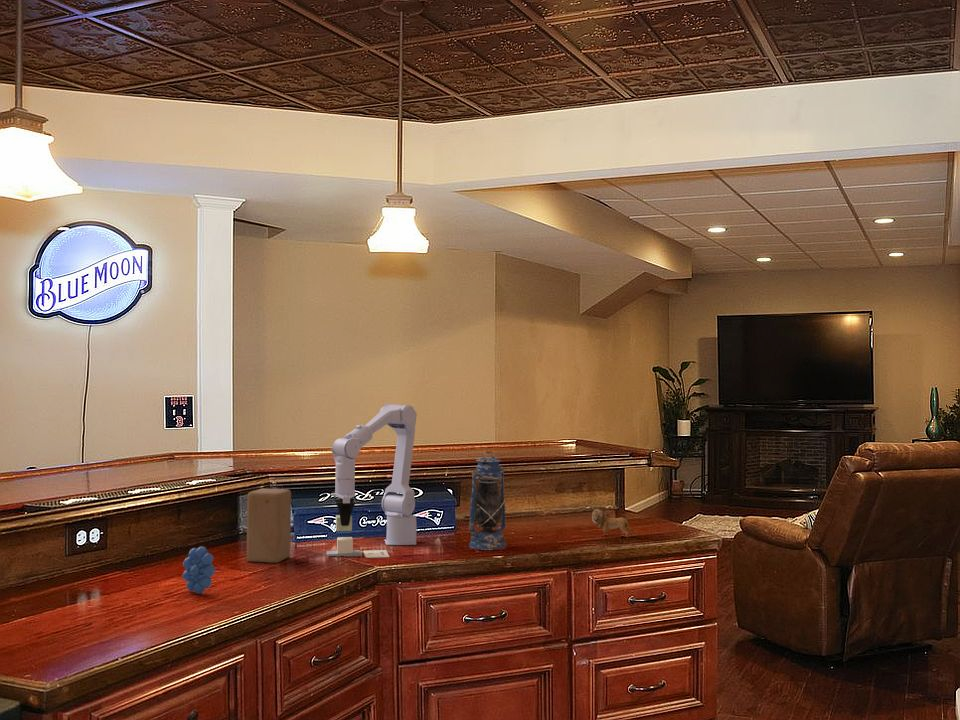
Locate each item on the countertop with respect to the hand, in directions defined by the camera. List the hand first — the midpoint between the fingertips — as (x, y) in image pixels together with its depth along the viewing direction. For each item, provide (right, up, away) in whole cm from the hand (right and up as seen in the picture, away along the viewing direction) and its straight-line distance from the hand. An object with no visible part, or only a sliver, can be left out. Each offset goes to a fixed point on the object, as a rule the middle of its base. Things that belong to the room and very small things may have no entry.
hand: (344, 524), depth 297 cm
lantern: (+43, -10, +15) cm, 46 cm away
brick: (0, -8, 0) cm, 8 cm away
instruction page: (+9, -9, +1) cm, 13 cm away
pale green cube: (0, -2, 0) cm, 2 cm away
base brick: (0, -10, 0) cm, 10 cm away
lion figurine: (+84, -11, +36) cm, 92 cm away
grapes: (-29, -9, -50) cm, 58 cm away
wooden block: (-21, -9, -8) cm, 24 cm away
